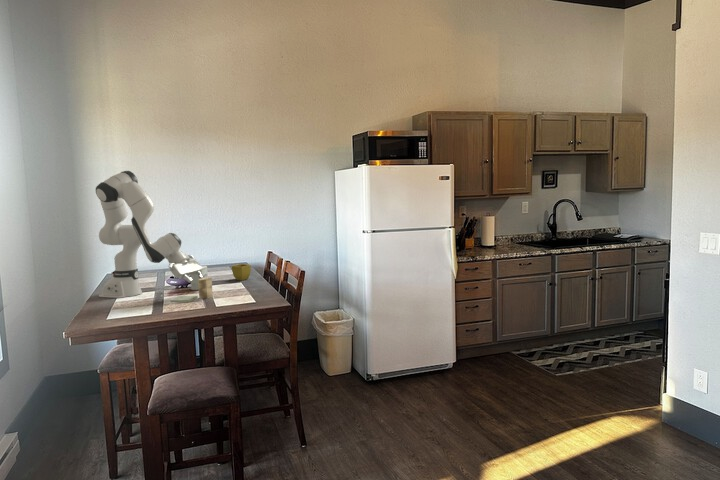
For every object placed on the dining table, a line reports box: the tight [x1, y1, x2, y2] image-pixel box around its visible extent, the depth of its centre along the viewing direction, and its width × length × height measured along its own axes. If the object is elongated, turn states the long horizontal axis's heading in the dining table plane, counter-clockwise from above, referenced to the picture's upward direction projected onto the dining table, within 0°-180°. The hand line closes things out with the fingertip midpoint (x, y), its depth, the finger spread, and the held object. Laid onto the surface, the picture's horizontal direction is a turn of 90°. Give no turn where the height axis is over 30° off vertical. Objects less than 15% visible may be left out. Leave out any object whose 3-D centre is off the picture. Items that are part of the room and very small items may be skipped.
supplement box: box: [189, 265, 209, 291], centre depth 312 cm, size 7×7×13 cm
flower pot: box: [231, 263, 252, 281], centre depth 335 cm, size 9×9×9 cm
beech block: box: [198, 277, 214, 300], centre depth 287 cm, size 5×5×10 cm
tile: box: [170, 295, 199, 303], centre depth 284 cm, size 10×10×1 cm
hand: (196, 280), depth 287 cm, fingers open, 8 cm apart
